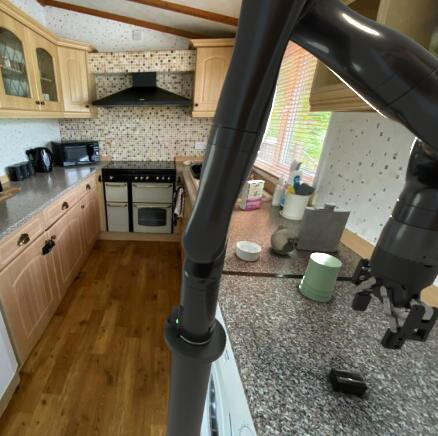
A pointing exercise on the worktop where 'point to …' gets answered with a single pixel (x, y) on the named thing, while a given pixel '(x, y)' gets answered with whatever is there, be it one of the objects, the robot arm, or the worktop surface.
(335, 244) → the hip flask
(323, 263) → the cup stack
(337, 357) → the worktop surface
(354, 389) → the binder clip
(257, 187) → the candy bar box
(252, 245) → the ramekin
